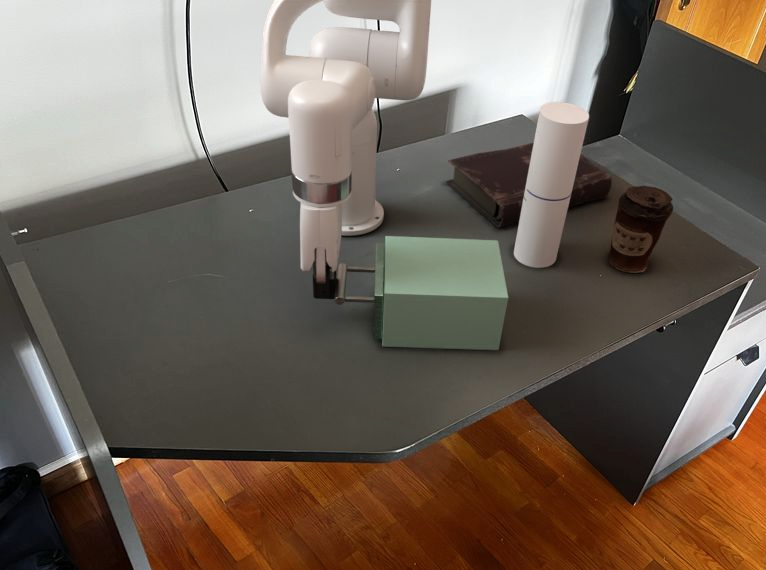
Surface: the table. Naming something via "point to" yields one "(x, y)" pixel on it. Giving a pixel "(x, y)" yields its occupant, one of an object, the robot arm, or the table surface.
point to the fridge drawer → (377, 298)
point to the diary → (515, 182)
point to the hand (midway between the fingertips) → (325, 295)
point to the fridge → (443, 293)
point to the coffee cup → (638, 227)
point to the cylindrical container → (550, 182)
